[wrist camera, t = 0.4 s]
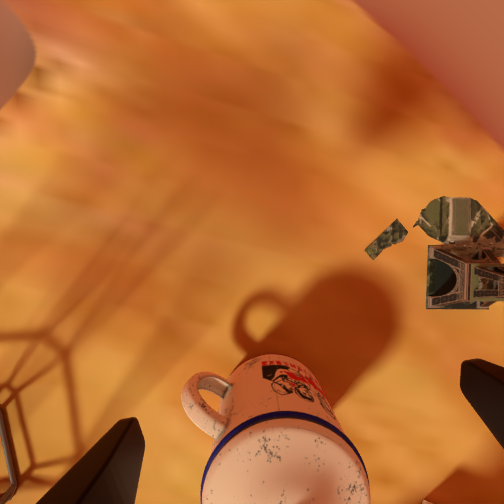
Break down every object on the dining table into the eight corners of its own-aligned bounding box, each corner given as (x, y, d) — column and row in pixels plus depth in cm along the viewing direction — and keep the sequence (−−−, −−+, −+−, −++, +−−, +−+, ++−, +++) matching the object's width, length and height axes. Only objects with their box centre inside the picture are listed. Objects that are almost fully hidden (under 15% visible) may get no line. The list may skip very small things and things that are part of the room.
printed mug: (346, 389, 23) (446, 539, 11) (283, 474, 23) (319, 707, 12) (231, 308, 23) (213, 377, 11) (168, 395, 23) (86, 554, 11)
